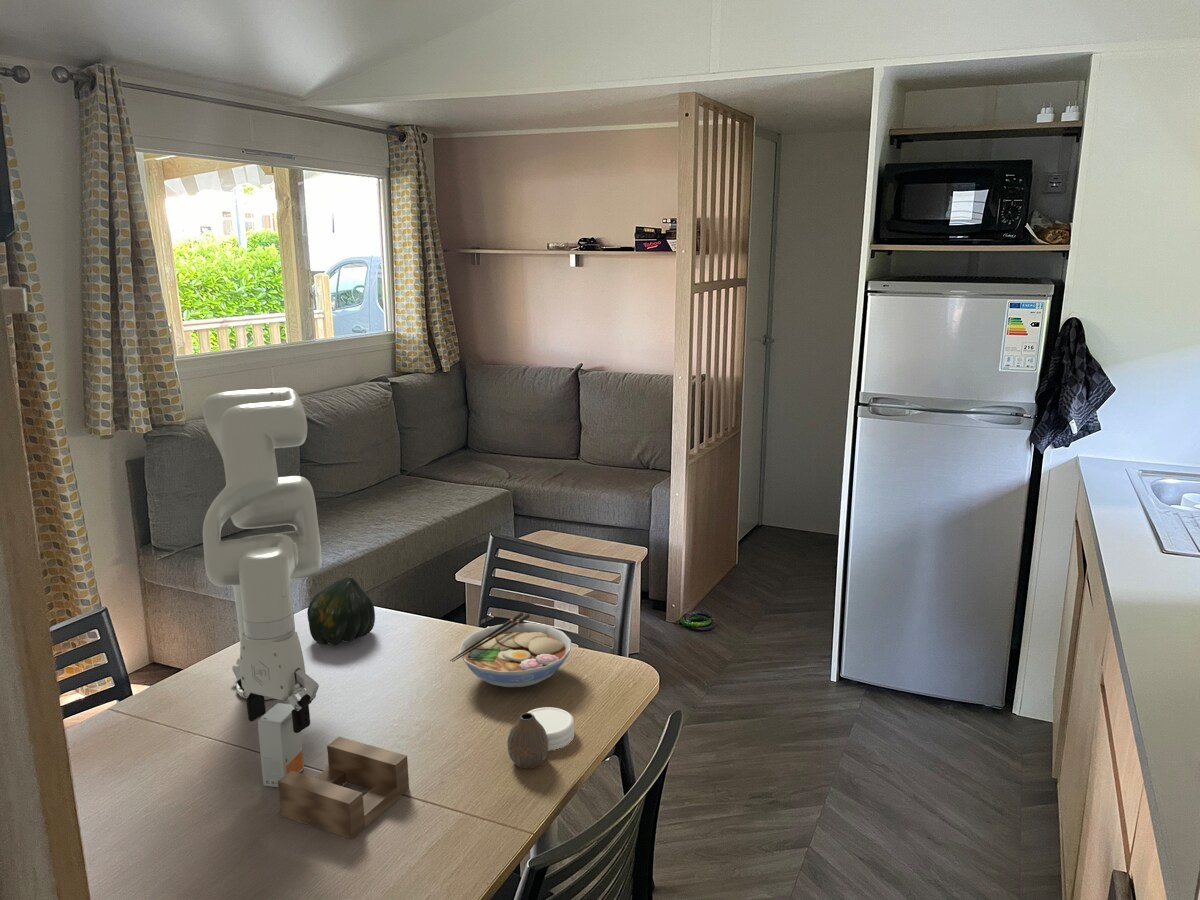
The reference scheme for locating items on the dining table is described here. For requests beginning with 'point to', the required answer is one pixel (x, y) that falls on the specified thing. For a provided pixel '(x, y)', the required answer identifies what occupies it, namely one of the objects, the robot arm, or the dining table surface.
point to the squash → (340, 613)
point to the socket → (342, 806)
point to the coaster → (555, 726)
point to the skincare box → (279, 744)
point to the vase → (527, 742)
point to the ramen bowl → (515, 652)
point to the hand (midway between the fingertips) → (279, 723)
